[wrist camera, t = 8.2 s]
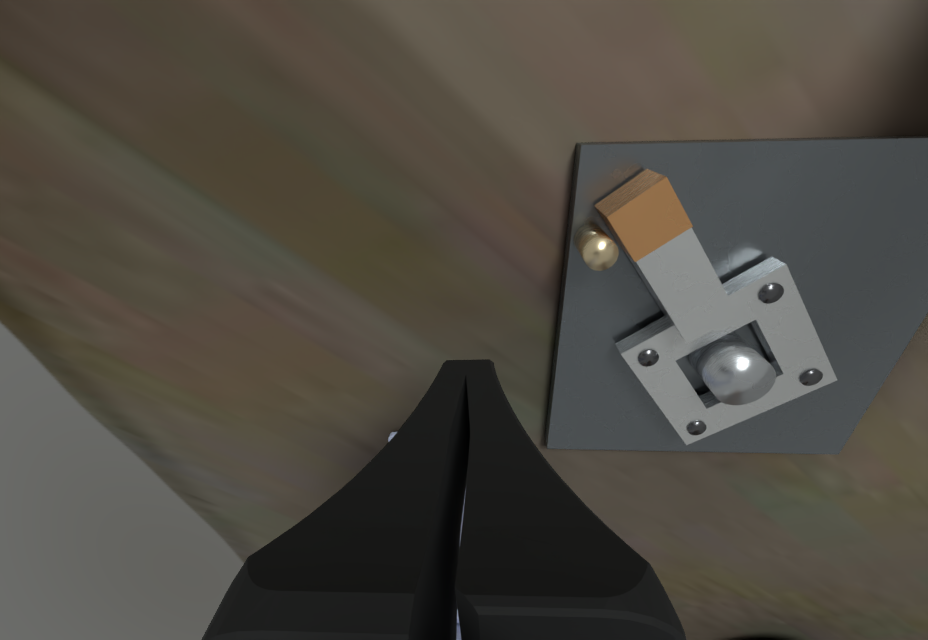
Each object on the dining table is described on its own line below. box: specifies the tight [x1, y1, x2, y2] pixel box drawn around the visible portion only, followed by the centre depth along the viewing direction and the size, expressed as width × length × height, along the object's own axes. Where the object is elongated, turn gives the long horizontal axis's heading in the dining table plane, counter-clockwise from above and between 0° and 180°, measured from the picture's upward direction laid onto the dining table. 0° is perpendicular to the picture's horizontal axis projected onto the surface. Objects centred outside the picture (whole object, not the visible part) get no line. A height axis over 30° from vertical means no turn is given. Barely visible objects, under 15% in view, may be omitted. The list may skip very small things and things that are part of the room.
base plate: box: [545, 136, 928, 454], centre depth 20 cm, size 18×18×4 cm
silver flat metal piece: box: [594, 169, 837, 445], centre depth 19 cm, size 15×8×2 cm, turn 39°
